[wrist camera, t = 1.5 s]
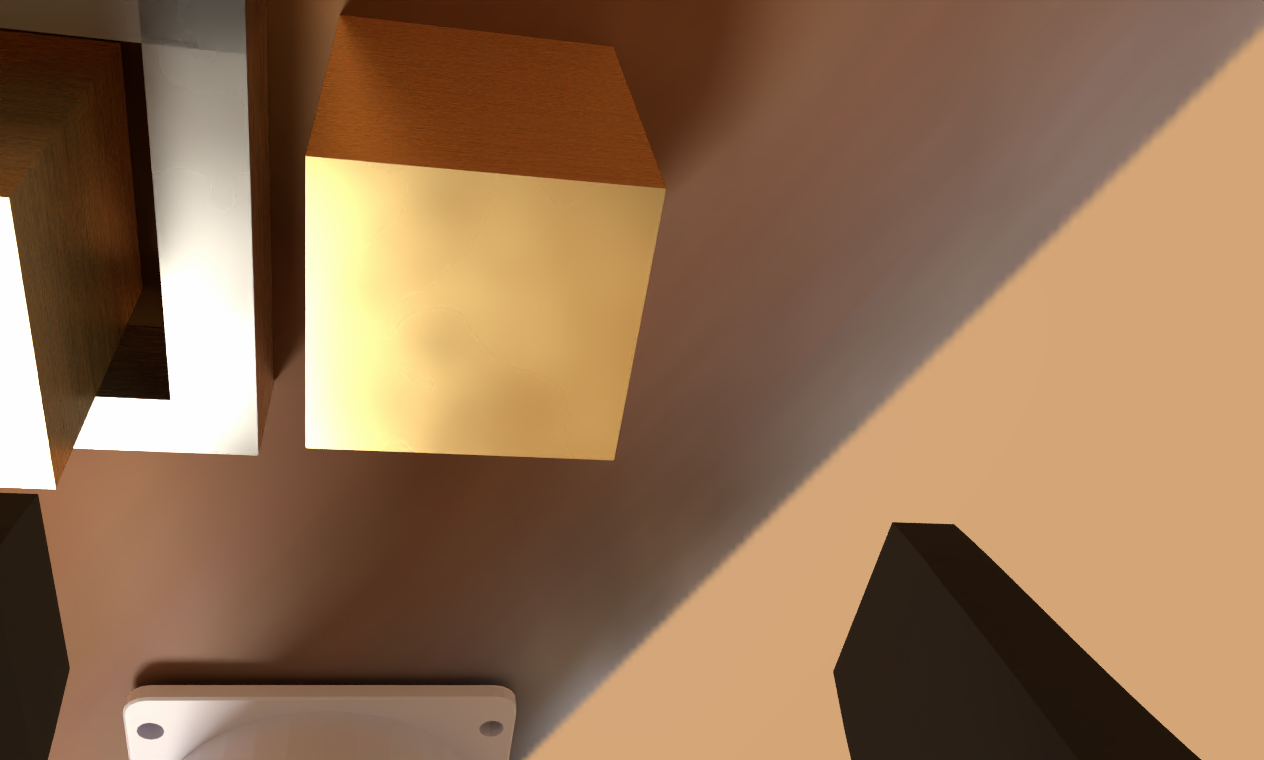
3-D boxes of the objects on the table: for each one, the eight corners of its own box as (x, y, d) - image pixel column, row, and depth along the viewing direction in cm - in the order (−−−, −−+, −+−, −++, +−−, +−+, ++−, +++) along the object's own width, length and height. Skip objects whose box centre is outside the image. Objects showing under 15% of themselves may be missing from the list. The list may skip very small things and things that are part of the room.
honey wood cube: (578, 276, 19) (614, 460, 15) (336, 258, 18) (305, 447, 14) (612, 45, 17) (665, 188, 13) (339, 13, 16) (305, 156, 12)
